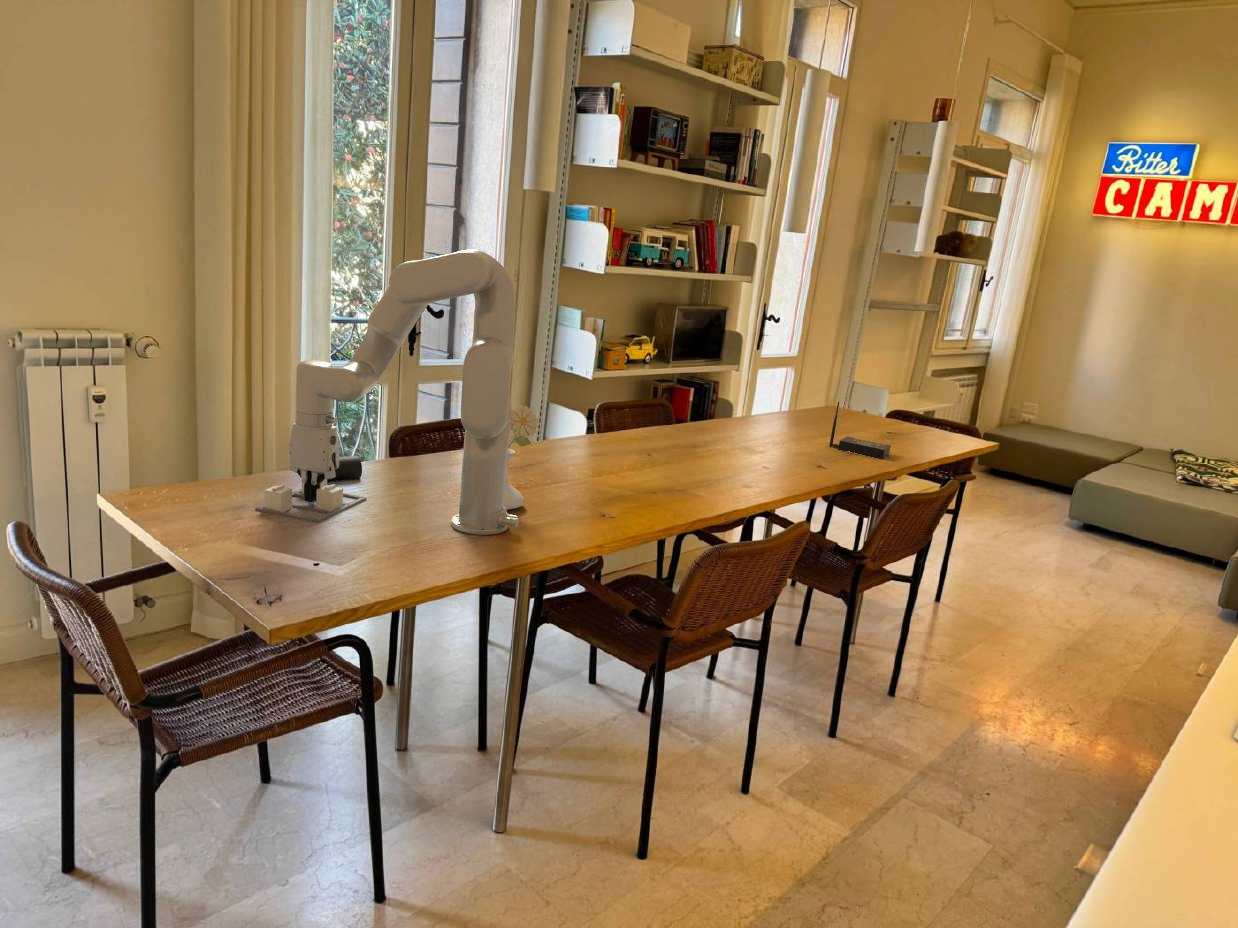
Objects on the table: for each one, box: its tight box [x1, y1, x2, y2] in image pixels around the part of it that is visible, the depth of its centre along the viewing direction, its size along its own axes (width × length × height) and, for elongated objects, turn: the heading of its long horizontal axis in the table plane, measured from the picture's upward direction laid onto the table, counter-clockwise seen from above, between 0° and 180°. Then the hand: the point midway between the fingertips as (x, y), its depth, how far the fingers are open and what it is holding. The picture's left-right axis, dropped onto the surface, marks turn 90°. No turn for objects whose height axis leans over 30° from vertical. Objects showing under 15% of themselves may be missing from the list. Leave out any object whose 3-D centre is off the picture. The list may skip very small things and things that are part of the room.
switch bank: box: [254, 488, 367, 524], centre depth 192 cm, size 20×19×2 cm
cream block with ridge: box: [315, 483, 344, 511], centre depth 190 cm, size 4×4×5 cm
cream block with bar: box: [301, 479, 328, 494], centre depth 198 cm, size 4×4×5 cm
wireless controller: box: [828, 401, 892, 460], centre depth 313 cm, size 20×14×17 cm
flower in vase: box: [503, 404, 539, 511], centre depth 206 cm, size 13×11×25 cm
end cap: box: [327, 453, 363, 483], centre depth 211 cm, size 10×7×7 cm
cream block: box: [263, 484, 293, 513], centre depth 186 cm, size 4×4×5 cm
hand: (311, 500), depth 191 cm, fingers closed
